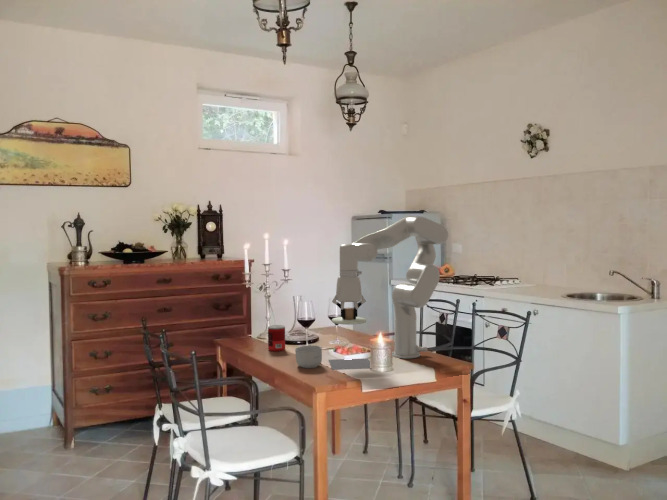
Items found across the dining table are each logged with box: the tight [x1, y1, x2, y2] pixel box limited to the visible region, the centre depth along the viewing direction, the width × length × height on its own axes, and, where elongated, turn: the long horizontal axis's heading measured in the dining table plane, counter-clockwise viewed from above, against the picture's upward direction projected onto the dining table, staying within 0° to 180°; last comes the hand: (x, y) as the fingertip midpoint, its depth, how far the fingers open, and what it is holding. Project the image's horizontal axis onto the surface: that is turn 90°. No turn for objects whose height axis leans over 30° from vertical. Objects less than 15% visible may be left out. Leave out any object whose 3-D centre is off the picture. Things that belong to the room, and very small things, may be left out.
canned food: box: [267, 324, 286, 353], centre depth 273 cm, size 8×8×11 cm
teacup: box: [294, 344, 323, 369], centre depth 242 cm, size 14×11×8 cm
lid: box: [331, 307, 367, 326], centre depth 243 cm, size 14×14×6 cm
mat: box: [327, 357, 371, 371], centre depth 244 cm, size 17×17×1 cm
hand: (349, 318), depth 243 cm, fingers closed on lid, 4 cm apart
